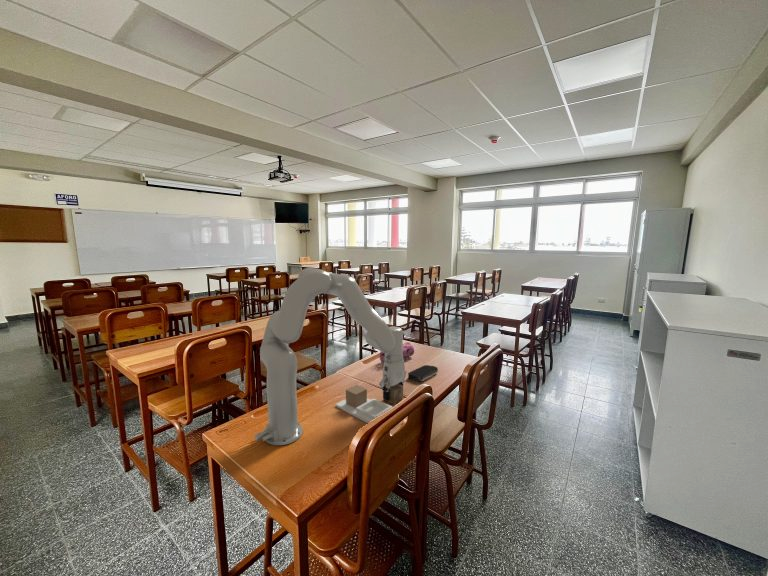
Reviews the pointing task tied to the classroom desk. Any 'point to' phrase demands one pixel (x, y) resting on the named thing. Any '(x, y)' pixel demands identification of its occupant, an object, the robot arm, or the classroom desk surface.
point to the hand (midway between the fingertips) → (393, 395)
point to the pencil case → (407, 351)
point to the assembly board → (362, 404)
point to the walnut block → (395, 393)
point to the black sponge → (423, 373)
